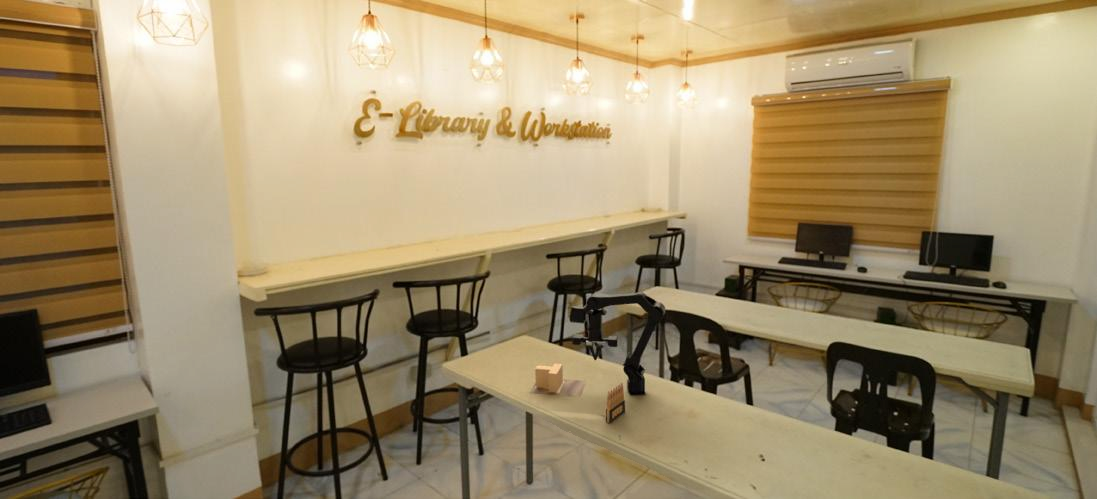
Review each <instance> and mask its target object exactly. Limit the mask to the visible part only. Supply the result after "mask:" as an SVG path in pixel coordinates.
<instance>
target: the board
mask: <svg viewBox="0 0 1097 499" xmlns="http://www.w3.org/2000/svg"><path fill="white" fill-rule="evenodd" d="M586 382H587V381H586V380H578V379H575V380H574V379H565V378H563V383H562V384H561V386H560V388H559V390H558V392H549V388H545V387H536V381H535V383H534V384H533V386H532V388H531V389H530V391H529V394H537V395H538V394H539V395H552V396H563V397H565V396H566V397H573V398H574V397H575V398H576V397H577V398H580V397H581V396H582V393H583V392H584V388H585V386H586Z"/></svg>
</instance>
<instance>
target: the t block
mask: <svg viewBox="0 0 1097 499" xmlns="http://www.w3.org/2000/svg"><path fill="white" fill-rule="evenodd" d="M563 367H564V366H563V363H553V365H552V366H549V365H537V366H536V367H535V369H534V370H535V372H534V373H535V374H534V375H535V382H536V387H545V388H549V392H558V390H559V388H560V386H561V384H562V383H563V379H564V374H563V372H564V371H563Z"/></svg>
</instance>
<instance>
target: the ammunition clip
mask: <svg viewBox="0 0 1097 499" xmlns="http://www.w3.org/2000/svg"><path fill="white" fill-rule="evenodd" d="M606 397H607V398H606V409H605V423H607V424H612V423H613V422H614V421H616V420H617V419H618V418H620V417H621V416H623V414H625V413H626V400H625V392H624V385H623V382H621V383H620V384H618V386H615V387H613V389H610V391H608V392H607V395H606Z"/></svg>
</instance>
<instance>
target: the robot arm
mask: <svg viewBox="0 0 1097 499" xmlns="http://www.w3.org/2000/svg"><path fill="white" fill-rule="evenodd" d="M632 304H633V305H635V304H636V305H639V306H640V307H641V308H642V310H644V311H645V313H647V314H648V315H647V319H646V323H645V326H644V328H643V330H642V333H641V335H640V337H639V340H638V341H637V344H636V346H635V349H634V350H633V352H630V351H628V353H627V355H626V358H625V360H624V362H623V364H622V366H623V369H622V370H623V372H624V374H625V375H626V376H627V379H626V390H627V392H628V393H629V395H630V396H637V395H641V396H642V395H646V394H647V392H646V378H645V376H644V374H645V372H646V369H645V367H644V366H642V364H641V362H642V359H643V358H642V357H643V354H644V352H645V350H646V348H647V346H648V343H649V341H650V339H651V337H652V334H653V332H654V330H655V328H657V326H658V325H659V324H660V323H661V320H662V319H664V315H665V313H666V306H665V305H664V304H663V303H662V302H658V301H656V300H655V299H654V298H652V297H650V296H648V295H647V294H645V293H644V292H643V291H638V292H630V293H629V292H628V293H619V294H618V293H617V294H607V293H601V292H595V293H592V294H591V295H590V296H589V297H588V298H587V300H586V304H585V305H584V306H576V305H575V306H574V305H572V306H571V307H570V312H569V318H568V319H569V322H570V323H573V324H585V323H586V322H587V325H586V332H587V333H588V335H587V336H588V337H585V336H584V334H582V333H581V334H577V333H575V334H574V335H573V336H572V339H571V345H573V346H580V345H581V344H582V343H586V345H585V348H588V349H589V351H590V354H591V355H592V357H593V360H594V361H597V359H598V356H599V353H600V351H601V349H604V348H605V344H607V346H608V347H610V348H617V347H618V346H619V342H620V341H619V340H620V339H619V337H618V336H617V335H608V338H606V337H605V338H604V327H603V316H607V313H608V312H607V310H605V308H606V307H607V308H608V307H610V306H623V305H632ZM595 343H596V345H595ZM595 346H596V347H595Z"/></svg>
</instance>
